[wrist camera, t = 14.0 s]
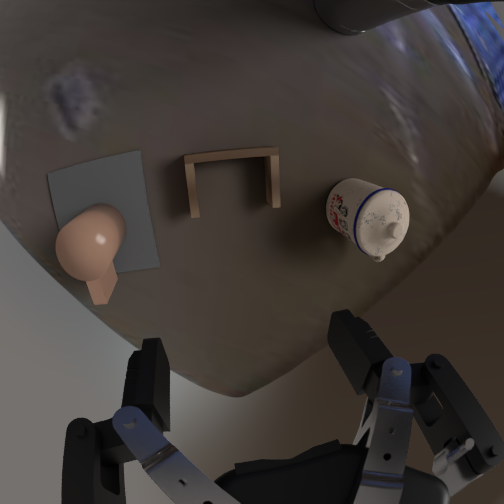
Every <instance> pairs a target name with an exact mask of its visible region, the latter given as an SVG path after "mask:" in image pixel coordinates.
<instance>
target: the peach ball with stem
mask: <svg viewBox="0 0 504 504" xmlns="http://www.w3.org/2000/svg"><path fill="white" fill-rule="evenodd" d="M125 236H126V224H125V220H124V218H123V216H122V214H121V213H120V212H119V211H118V210H117V209H116V208H115V207H113V206H112V205H109V204H106V203H97V204H93V205H91V206H90V207H88V208H87V209H86V210H84V211H83V212H82V213H80V214H79V215H78V216H77V217H75V218H74V219H73V220H72V221H70V222H69V223H68V224H67V225H65V226H64V227H63V228H62V229H61V231H60V232H59V234H58V236H57V239H56V245H55V246H56V255H57V258H58V261H59V263H60V264H61V266H62V267H63V269H64V270H65V271H66V272H67V273H68V274H69V275H71V276H72V277H74V278H76V279H78V280H82V281H86V283H87V286H88V289H89V292H90V294H91V297H92V300H93V302H94V305H98V304H107V303H108V300H109V298H110V296H111V293H112V291H113V289H114V286H115V284H116V282H117V280H118V278H117V275H116V271H115V268H114V264H113V261H112V260H113V258H114V257H115V255H116V253H117V251H118V250H119V248H120V246H121V245H122V243H123V241H124V239H125Z"/></svg>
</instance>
